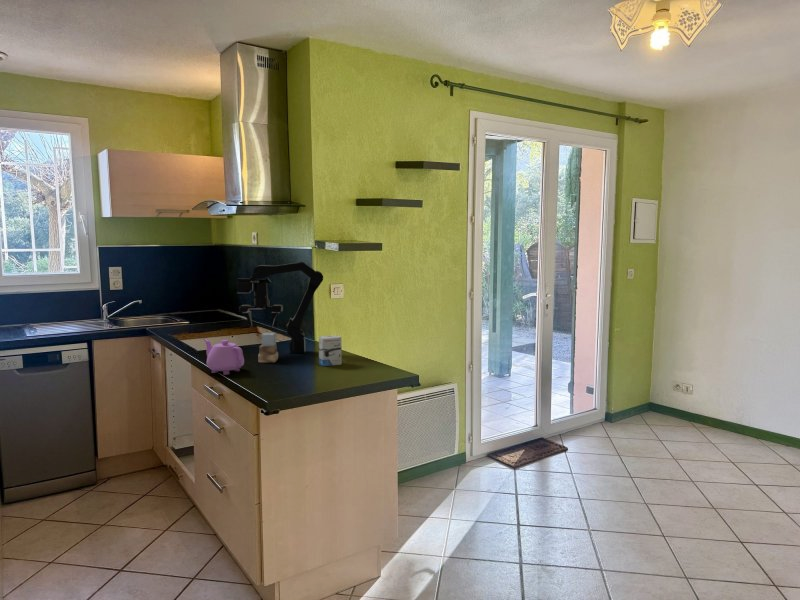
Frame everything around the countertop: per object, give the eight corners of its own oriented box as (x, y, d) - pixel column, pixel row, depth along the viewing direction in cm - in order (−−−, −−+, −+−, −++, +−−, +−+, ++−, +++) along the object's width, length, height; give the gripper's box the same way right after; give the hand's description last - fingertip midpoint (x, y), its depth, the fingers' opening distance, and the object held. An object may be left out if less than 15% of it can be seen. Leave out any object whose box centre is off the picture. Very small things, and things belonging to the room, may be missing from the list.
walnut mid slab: (276, 351, 242) (276, 343, 242) (273, 354, 237) (273, 346, 236) (262, 351, 242) (262, 343, 242) (259, 354, 236) (259, 346, 236)
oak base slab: (278, 359, 244) (278, 351, 243) (275, 362, 237) (274, 354, 236) (262, 359, 243) (261, 351, 243) (258, 363, 236) (258, 354, 236)
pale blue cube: (275, 343, 242) (275, 332, 242) (273, 346, 237) (273, 334, 237) (264, 343, 242) (264, 332, 241) (261, 346, 237) (261, 334, 236)
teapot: (191, 372, 219) (190, 340, 217) (218, 364, 231) (217, 335, 230) (230, 378, 210) (229, 345, 209) (255, 370, 223) (255, 339, 221)
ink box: (322, 366, 229) (322, 338, 228) (318, 364, 234) (318, 336, 232) (342, 364, 233) (341, 336, 232) (337, 362, 237) (337, 334, 236)
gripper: (284, 291, 260) (285, 324, 262) (244, 291, 259) (245, 324, 261) (280, 293, 249) (281, 328, 251) (238, 293, 248) (239, 328, 250)
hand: (261, 327), depth 254 cm, fingers open, 9 cm apart
